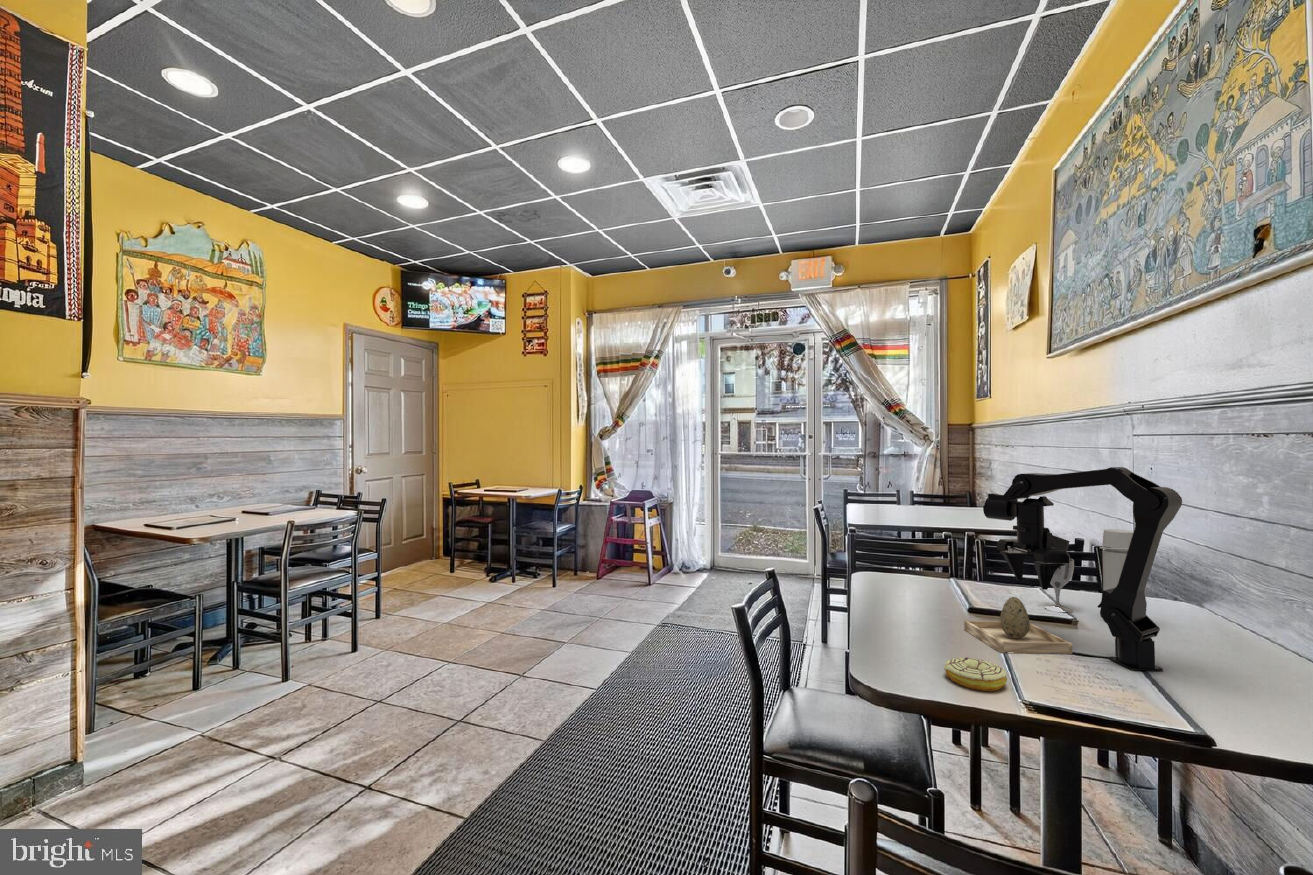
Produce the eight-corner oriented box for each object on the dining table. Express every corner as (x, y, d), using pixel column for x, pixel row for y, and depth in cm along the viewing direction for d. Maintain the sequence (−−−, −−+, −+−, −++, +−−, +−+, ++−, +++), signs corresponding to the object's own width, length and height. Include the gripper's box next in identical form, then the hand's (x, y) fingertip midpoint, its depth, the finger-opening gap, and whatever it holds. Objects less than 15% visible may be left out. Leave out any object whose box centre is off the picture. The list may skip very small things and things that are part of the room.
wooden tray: (1072, 654, 123) (1072, 643, 123) (1000, 652, 124) (1000, 642, 124) (1027, 630, 139) (1027, 621, 139) (964, 629, 140) (964, 620, 140)
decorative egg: (997, 637, 132) (996, 596, 132) (1004, 632, 136) (1004, 592, 136) (1026, 644, 127) (1025, 601, 127) (1032, 638, 131) (1031, 597, 131)
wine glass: (1063, 605, 161) (1062, 555, 162) (1081, 613, 153) (1080, 561, 154) (1035, 605, 162) (1034, 555, 163) (1052, 613, 154) (1050, 560, 155)
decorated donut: (964, 668, 116) (964, 650, 116) (1017, 687, 106) (1017, 667, 106) (934, 677, 111) (934, 659, 111) (987, 698, 101) (986, 678, 101)
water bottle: (1147, 629, 140) (1145, 533, 141) (1113, 627, 142) (1111, 532, 142) (1124, 618, 149) (1122, 528, 150) (1092, 616, 151) (1090, 527, 151)
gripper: (1092, 527, 126) (1093, 594, 126) (1036, 518, 145) (1037, 576, 144) (1044, 527, 126) (1046, 594, 126) (995, 518, 145) (996, 576, 144)
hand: (1031, 584), depth 135 cm, fingers open, 9 cm apart
